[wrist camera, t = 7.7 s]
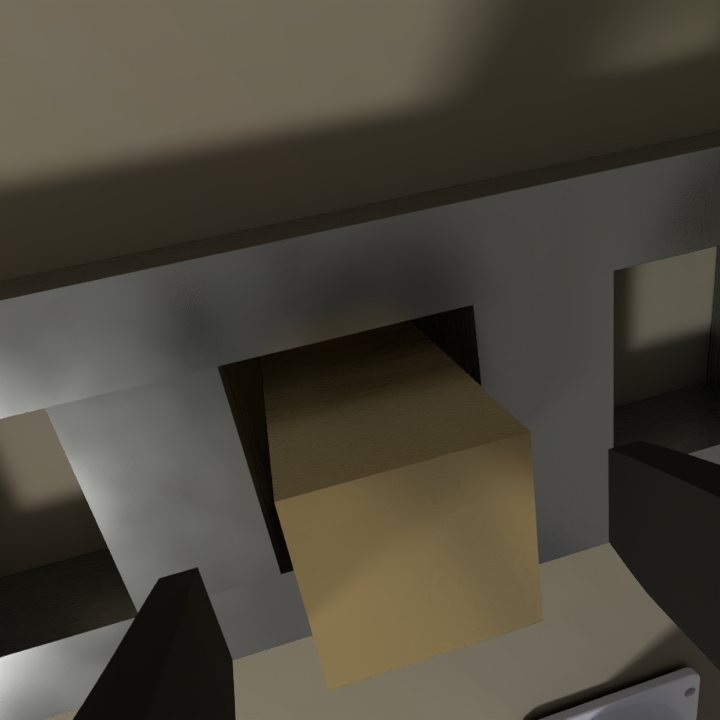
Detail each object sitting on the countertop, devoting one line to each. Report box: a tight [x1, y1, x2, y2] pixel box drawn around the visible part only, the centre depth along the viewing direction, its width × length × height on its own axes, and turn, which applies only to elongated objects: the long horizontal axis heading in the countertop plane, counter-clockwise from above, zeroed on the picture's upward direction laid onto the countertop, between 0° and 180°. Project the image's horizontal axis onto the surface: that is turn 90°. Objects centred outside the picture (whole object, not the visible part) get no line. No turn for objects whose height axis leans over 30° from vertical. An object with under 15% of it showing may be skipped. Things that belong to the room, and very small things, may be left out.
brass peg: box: [260, 320, 542, 691], centre depth 12 cm, size 4×4×7 cm
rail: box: [0, 131, 720, 720], centre depth 14 cm, size 10×28×3 cm, turn 100°
